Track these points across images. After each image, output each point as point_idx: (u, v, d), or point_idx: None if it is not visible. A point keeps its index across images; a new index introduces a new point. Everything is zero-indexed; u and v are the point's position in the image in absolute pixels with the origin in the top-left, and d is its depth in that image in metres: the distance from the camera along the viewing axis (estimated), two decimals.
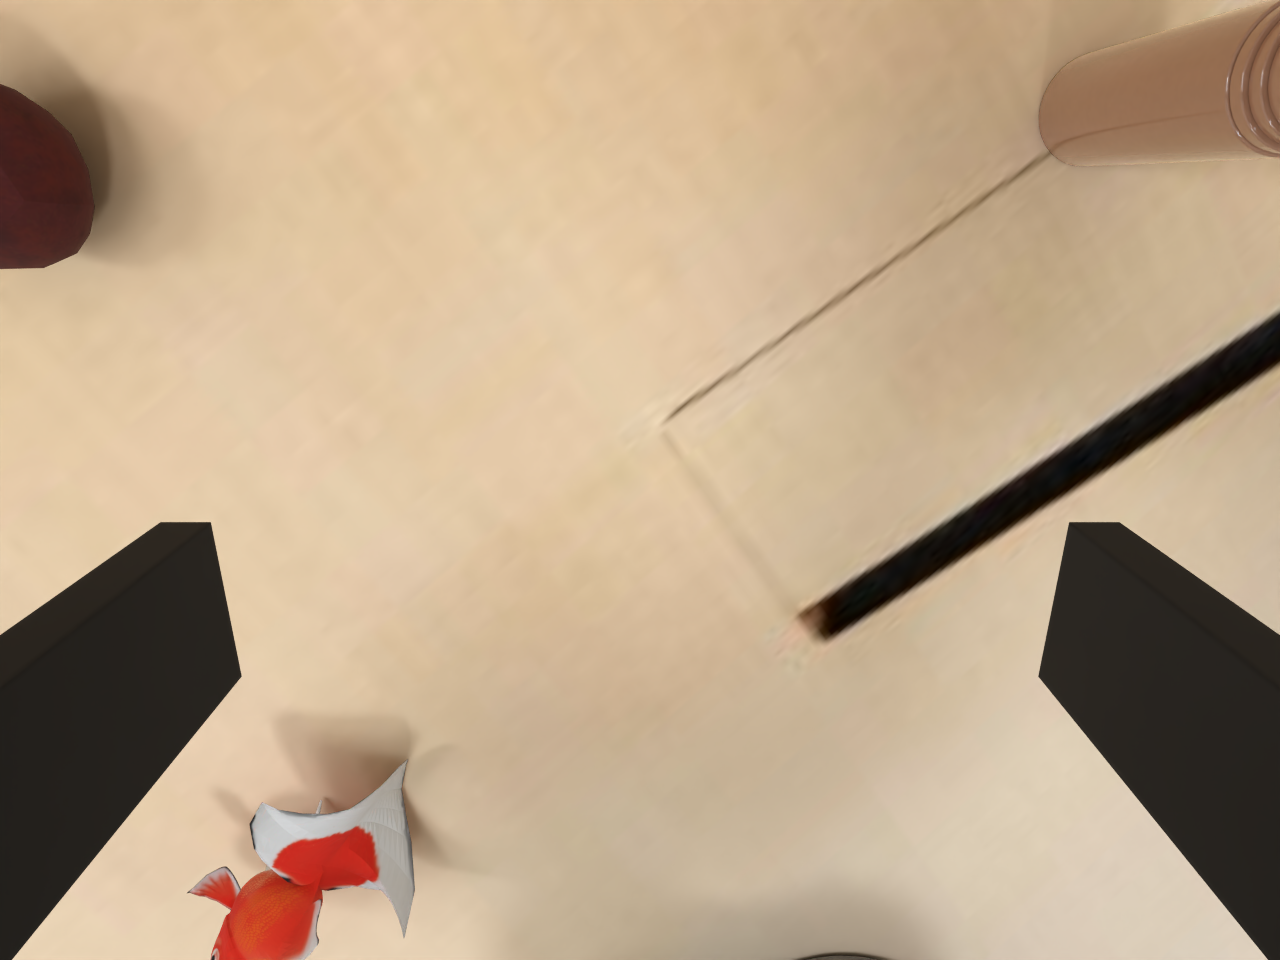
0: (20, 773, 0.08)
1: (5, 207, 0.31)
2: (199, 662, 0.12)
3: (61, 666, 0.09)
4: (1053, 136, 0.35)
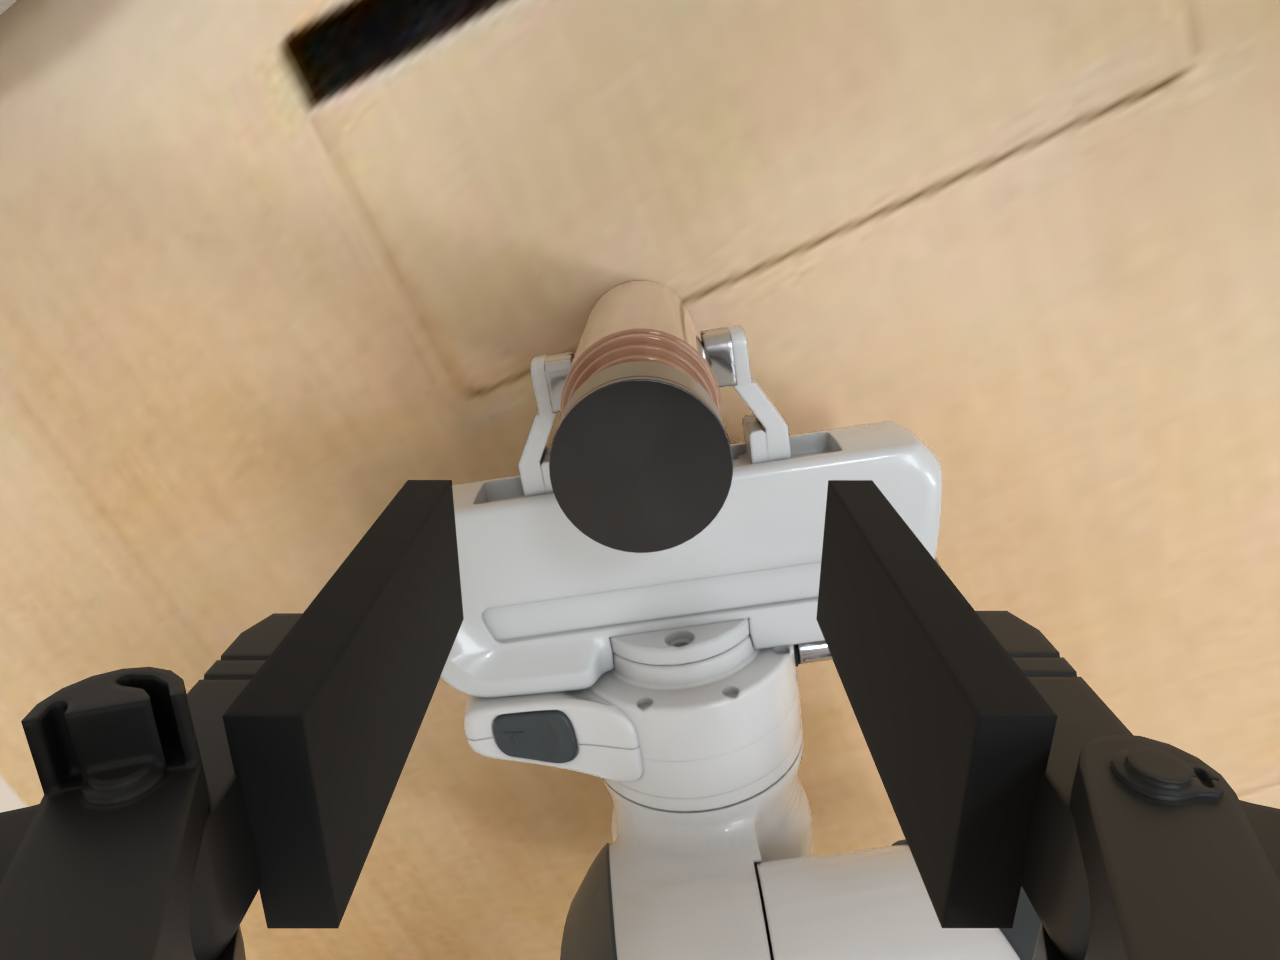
0: (382, 672, 0.10)
1: None
2: (447, 601, 0.13)
3: (396, 588, 0.11)
4: None
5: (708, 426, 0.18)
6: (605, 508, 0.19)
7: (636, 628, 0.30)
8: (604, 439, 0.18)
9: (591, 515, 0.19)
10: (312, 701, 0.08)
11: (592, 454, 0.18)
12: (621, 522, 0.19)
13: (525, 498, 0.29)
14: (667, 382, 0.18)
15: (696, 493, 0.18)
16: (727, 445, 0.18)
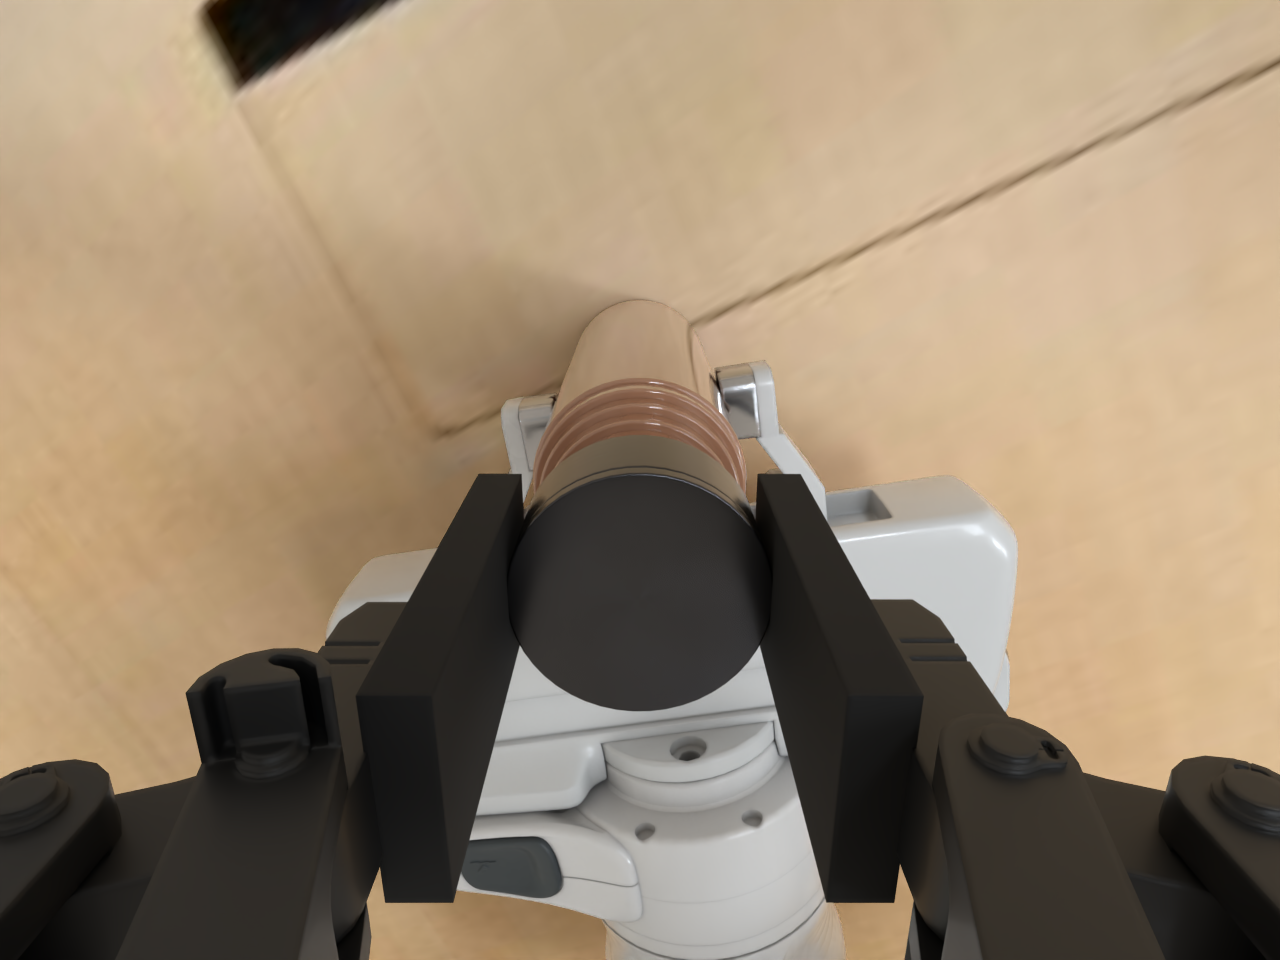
0: (480, 658, 0.10)
1: None
2: None
3: (488, 577, 0.11)
4: None
5: (738, 540, 0.12)
6: (588, 652, 0.13)
7: (634, 732, 0.24)
8: (585, 557, 0.12)
9: (568, 661, 0.13)
10: (436, 682, 0.08)
11: (568, 578, 0.12)
12: (611, 671, 0.13)
13: None
14: (678, 477, 0.12)
15: (719, 632, 0.13)
16: (766, 566, 0.12)
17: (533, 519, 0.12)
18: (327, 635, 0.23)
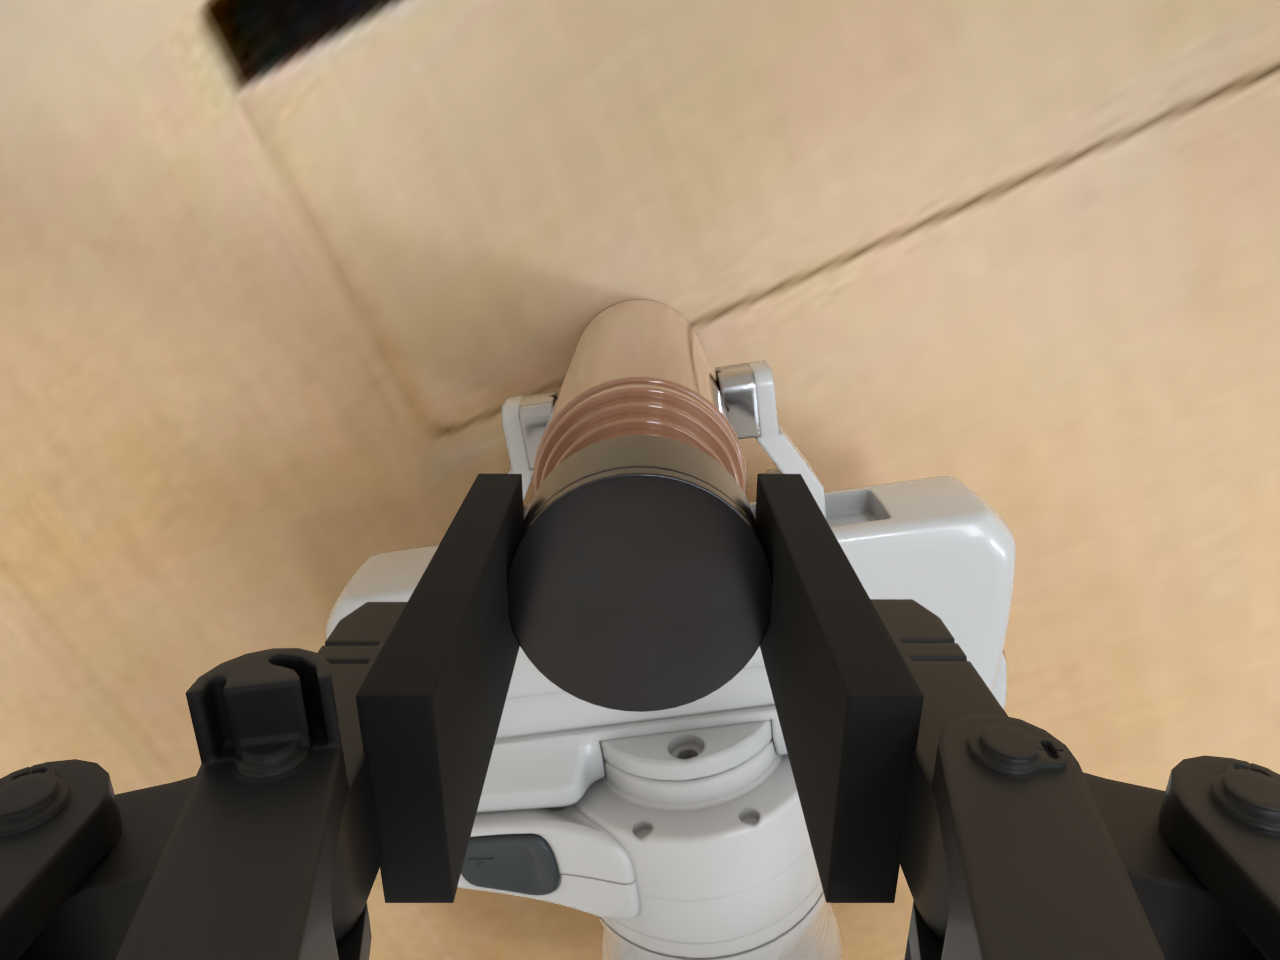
0: (480, 658, 0.10)
1: None
2: None
3: (488, 577, 0.11)
4: None
5: (564, 515, 0.12)
6: (702, 642, 0.13)
7: (632, 730, 0.24)
8: (597, 648, 0.13)
9: (714, 659, 0.13)
10: (436, 682, 0.08)
11: (621, 661, 0.13)
12: (724, 620, 0.13)
13: None
14: (507, 573, 0.12)
15: (672, 523, 0.12)
16: (591, 486, 0.12)
17: (564, 690, 0.13)
18: (327, 632, 0.23)
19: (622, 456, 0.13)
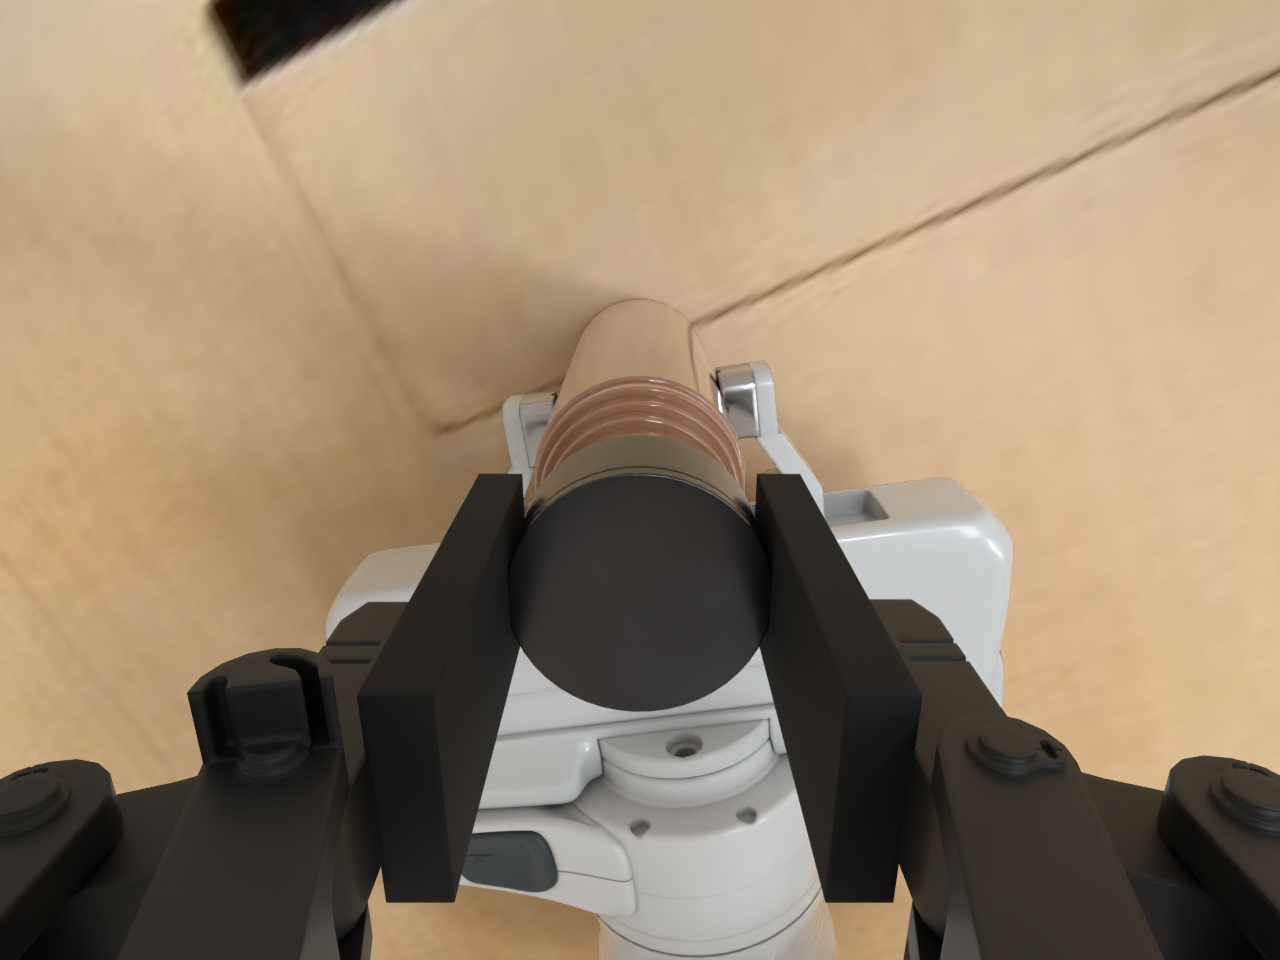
0: (480, 658, 0.10)
1: None
2: None
3: (489, 577, 0.11)
4: None
5: (556, 667, 0.13)
6: (685, 537, 0.12)
7: (630, 728, 0.25)
8: (697, 634, 0.13)
9: (705, 525, 0.12)
10: (437, 682, 0.08)
11: (712, 611, 0.13)
12: (658, 519, 0.12)
13: None
14: (622, 708, 0.13)
15: (553, 577, 0.12)
16: (524, 646, 0.13)
17: (749, 659, 0.13)
18: (326, 628, 0.23)
19: None
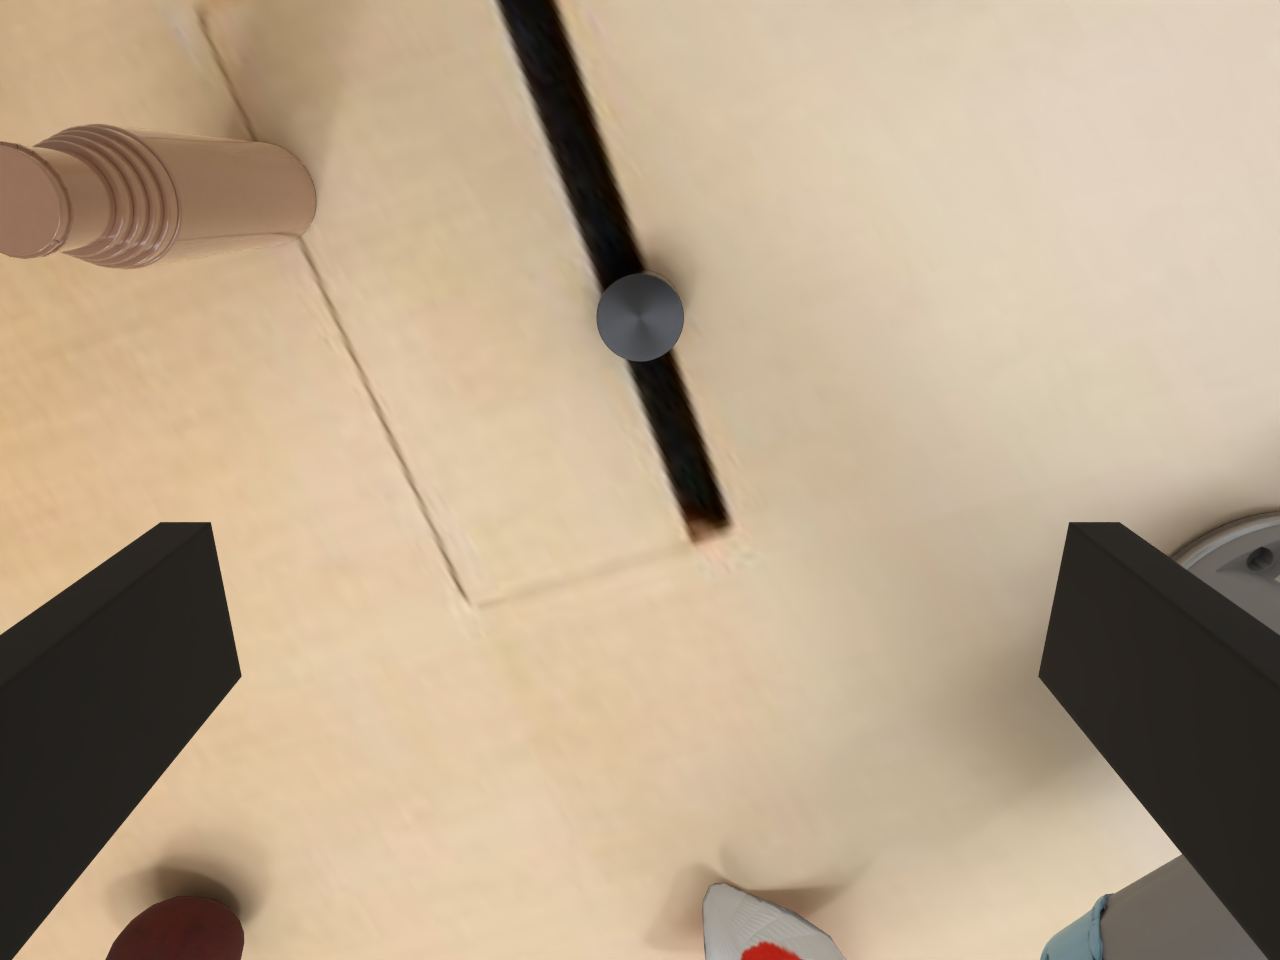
0: (20, 773, 0.08)
1: None
2: (199, 662, 0.12)
3: (61, 666, 0.09)
4: (274, 245, 0.38)
5: (664, 288, 0.38)
6: (629, 342, 0.39)
7: None
8: (619, 308, 0.39)
9: (623, 347, 0.39)
10: None
11: (616, 317, 0.39)
12: (638, 347, 0.39)
13: None
14: (640, 273, 0.38)
15: (668, 322, 0.39)
16: (676, 295, 0.38)
17: (600, 300, 0.38)
18: None
19: None
